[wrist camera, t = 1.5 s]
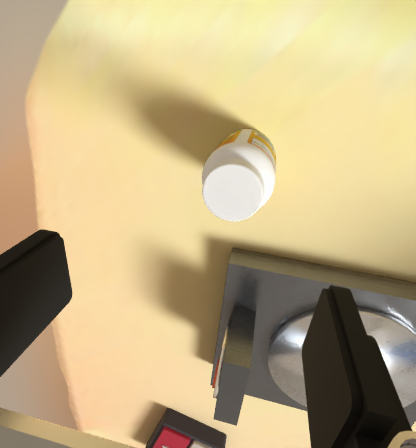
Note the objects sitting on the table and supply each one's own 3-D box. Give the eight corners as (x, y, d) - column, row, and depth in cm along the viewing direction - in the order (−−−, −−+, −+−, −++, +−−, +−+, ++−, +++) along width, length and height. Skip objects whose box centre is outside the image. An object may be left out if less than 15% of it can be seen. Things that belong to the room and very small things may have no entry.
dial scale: (475, 294, 28) (565, 392, 19) (394, 411, 37) (430, 513, 28) (232, 247, 31) (215, 312, 23) (214, 365, 41) (197, 443, 32)
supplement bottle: (217, 183, 28) (191, 226, 20) (219, 126, 26) (190, 149, 18) (272, 187, 28) (269, 236, 19) (279, 129, 25) (280, 155, 17)
